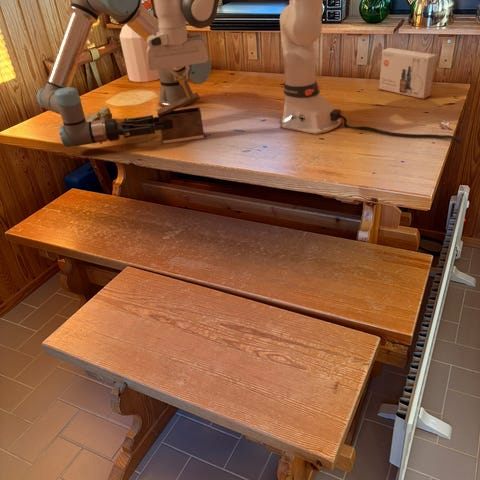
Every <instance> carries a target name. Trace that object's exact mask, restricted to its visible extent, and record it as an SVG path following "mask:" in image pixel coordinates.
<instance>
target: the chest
mask: <svg viewBox="0 0 480 480" xmlns="http://www.w3.org/2000/svg"><path fill="white" fill-rule="evenodd" d="M157 117H158V118H159V122H163V121H170V120H172V123H173V128H172V129H165V130H160V135H161V140H162V144H169V143H177V142H184V141H185V142H186V141H190V140H198V139H204V138H205V132H204V125H203V118H202V117H203V116H202V112H201V108H200V106H197V107H191V108H181V109H175V110H173V111H171V112H169V113H166V114H164V115H162V116H158V115H157Z"/></svg>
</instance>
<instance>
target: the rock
mask: <svg viewBox="0 0 480 480" xmlns="http://www.w3.org/2000/svg"><path fill="white" fill-rule="evenodd" d="M85 119H86V122H92V121H98V120H103V121H105V120H106V119H113V113H112V112H111V109H110V107H108V106H106V105H105V106H103V107H102V108H101V109H98V110H97V111H96V113H87V114H85Z"/></svg>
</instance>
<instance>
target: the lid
mask: <svg viewBox="0 0 480 480" xmlns="http://www.w3.org/2000/svg"><path fill="white" fill-rule="evenodd" d="M179 84H180V85H182V86H183V88H184V90H185V93H186V95H187V97H185V98H183V99H181V100H179V101H176V102H174V103H172V104H170V105H167V106H165V107H163V106H162V107H161V108H158V109H157V110H156V111H157V117H158V116H162V115H164V114H166V113H169V112H171V111H174V110H179V109H180V108H182V107H185V106H188V105H190V104H189V103H191V102H192V103H194V102H196V101H198V100H200V95H199V93H198V92H195V93H193V94H192V95H189V93H188V91H187V89H186V86H185V81H184V78H183V77H182V76H181V77H179ZM192 103H191V104H192ZM187 104H188V105H187ZM184 105H185V106H184Z"/></svg>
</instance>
